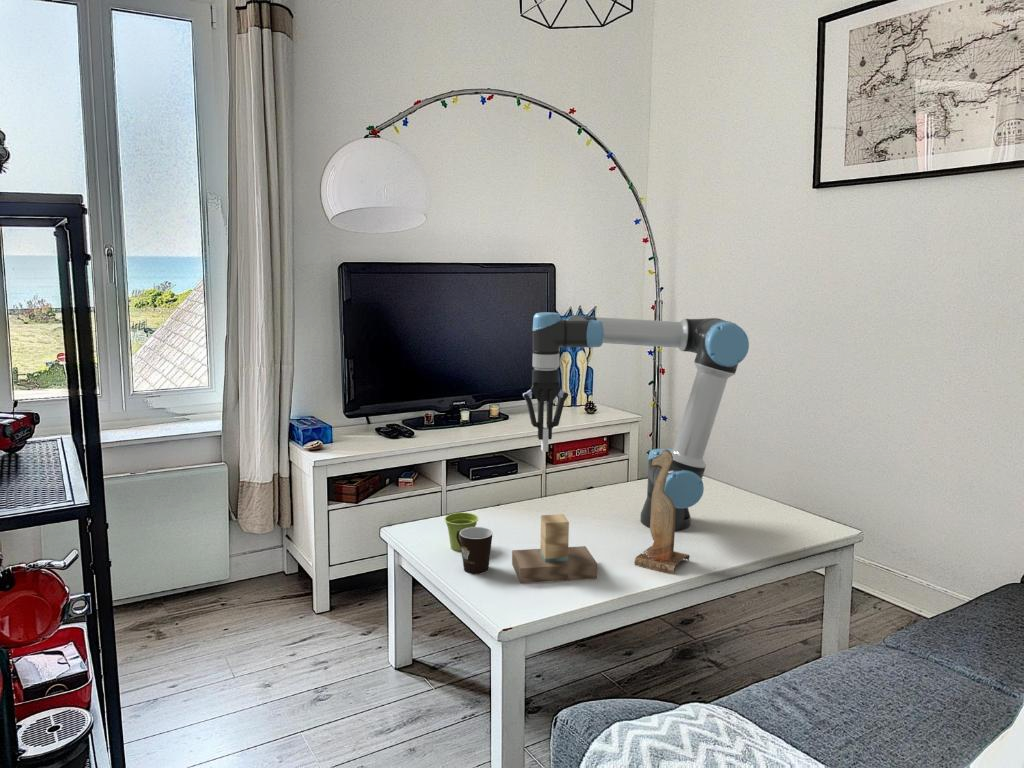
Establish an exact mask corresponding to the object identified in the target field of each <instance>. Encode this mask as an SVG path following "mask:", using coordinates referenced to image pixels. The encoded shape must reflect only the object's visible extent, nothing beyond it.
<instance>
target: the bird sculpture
mask: <svg viewBox="0 0 1024 768" xmlns="http://www.w3.org/2000/svg"><path fill="white" fill-rule="evenodd" d="M663 449H664V450H663V452H662V453H661V454H660V455H658V456H656V457H654V458H653V460H652V467H660V468H661V470H660V472H659V475H658V477H657V479H656V482H655V485H654V488H653V492H652V498H651V519H650V527H649V531H650V536H651V537H652V540H653V543H652V545H651V546H649V547H648V548H647V549H645V550H644V551H643V552H641V553H640V554H638V555H636V556H635V558H634V566H635V567H636V566H638V567H642V568H646V569H648V570H653V571H659V572H662V573H666V574H670V575H674V572H675V569H676V566H677V565H678V564H679V563H680V562H681V561H683V560H685V561H686V560H687V561H689V562H690V555H689V554H687V553H683V552H679V551H675V549H674V548H675V535H676V534H675V533H676V530H675V515H676V511H675V506H674V504H673V502H672V500H671V499H670V497H669V496H668V495H667V494H666V493H665V492H664V488H665V482H666V478H667V475H668V472H669V469H670V466H671V464H672V462H673V456H672V453H671V452H670V451H669V450H667V449H668V448H663Z"/></svg>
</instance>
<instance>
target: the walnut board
mask: <svg viewBox="0 0 1024 768" xmlns="http://www.w3.org/2000/svg"><path fill="white" fill-rule="evenodd" d="M540 550H541V548H532V549H530V548H529V549H514V550H513V549H512V551H511V565H512V568H513V570H514V572H515V575H516V577H517V579H518V582H519V584H531V583H549V582H550V583H551V582H561V581H562V582H564V581H577V580H579V581H580V580H581V581H582V580H593V579H594V580H596V579H598V564H599V563H598V562H597V561H596V559H595V558H594V556H593V555H592V553H591V552H590V551H589V549H588V548H587V547H586V545H583V546H582V545H581V546H568V561H556V562H545V561H544V559H543V557H542V555H541V554H540Z"/></svg>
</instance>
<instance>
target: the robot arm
mask: <svg viewBox="0 0 1024 768" xmlns="http://www.w3.org/2000/svg"><path fill="white" fill-rule="evenodd" d="M603 344H609V345H610V344H611V345H612V344H613V345H628V346H629V345H630V346H631V345H632V346H644V347H646V346H647V347H662V348H663V347H664V348H675V349H676V348H677V349H679V351H680V352H688V353H694V354H696V355H695V358H694V361H693V363H694V365H695V368H696V369H697V370H696V373H695V378H694V380H693V383H692V387H691V390H690V393H689V396H688V400H687V402H686V406H685V409H684V412H683V416H682V419H681V422H680V425H679V429H678V433H677V436H676V439H675V441H674V445H673V448H666V449H667V450H669V451H670V452H671V453H672V456H673V462H672V464H671V466H670V469H669V472H668V475H667V478H666V482H665V488H664V492H665V493H666V494H667V495H668V496H669V497H670V499H671V500H672V502H673V504H674V506H675V511H676V515H675V531H681V530H686V529H687V528H689V527H690V526H691V521H692V520H691V519H692V518H691V514H690V510H689V508H690V507H693V506H695V505H696V504H697V503H699V501H700V500H702V497H703V494H704V489H705V488H704V487H705V486H704V482H703V476H704V475H705V470H706V467H707V464H706V463H705V461H704V455H705V452H706V449H707V446H708V442H709V439H710V436H711V434H712V431H713V426H714V424H715V421H716V417H717V414H718V412H719V407H720V406H721V405H720V404H721V401H722V398H723V394H724V392H725V389H726V385H727V382H728V379H729V378H731V377H733V376H735V375H736V372H737V369H738V366H739V364H740V363H741V362H743V360H745V358H746V357H747V355H748V352H749V349H750V341H749V337H748V335H747V333H746V331H745V330H744V329H743V328H742V327H740V326H739V325H738V324H737V323H735V322H732V321H729V320H724V319H721V318H719V317H718V318H717V317H711V318H710V317H708V318H682V320H680V321H670V320H669V321H668V320H651V319H636V318H635V319H634V318H615V317H599V316H596V317H593V316H582V315H580V314H575V315H574V314H573V315H571V316H569V317H568V318H566V320H565V319H562V318H561V315H560V313H558V312H551V311H550V312H548V311H547V312H545V311H543V312H536V313H535V314H534V315H533V320H532V361H531V362H532V368H533V369H532V371H531V372H532V373H531V385H530V388H529V390H527V391H526V392H523V393H522V397H523V398H524V399H525V402H526V407H527V410H528V414H529V419H530V424H531V425H532V427H534V428H537V439H538V440H539V441H540V450H541V451H542V452H543V453H546V452H549V440H552V438H553V428H555V427H558V426H559V424H560V422H561V416H562V412H563V408H564V406H565V402H566V400H567V398H568V396H569V394H568V392H566V391H564V390H562V388H561V385H560V370H559V367H560V349H561V348H588V349H592V348H600V347H602V346H603ZM533 396H534V398H535V399H536V400H537V418H536V414H535V410H534V406H533V405H534V404H533V401H532V398H533ZM557 396H558V400H557V403H556V408H555V412H553V409H554V408H553V407H554V400H555V398H556V397H557ZM545 402H546V424H545V425H546V426H544V419H545V417H544V413H545V412H544V406H545ZM553 413H554V415H553ZM664 449H665V448H654V449H651V450H650V451H649V452H648V453H649V454H648V458H647V462H648V464H647V465H648V466H647V489H646V491H647V492H646V493H647V494H646V495H647V496H646V499H645V502H644V503H643V507H642V510H641V512H640V519H639V520H640V523H641V524H642V525H643V526H646V527H648V528H650V519H651V498H652V492H653V488H654V485H655V482H656V479H657V477H658V475H659V472H660V470H661V468H660V467H652V460H653V458H654V457H656V456H658V455H660V454H661V453H662V452H663V450H664Z"/></svg>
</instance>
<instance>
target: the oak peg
mask: <svg viewBox="0 0 1024 768" xmlns="http://www.w3.org/2000/svg"><path fill="white" fill-rule="evenodd" d="M569 531H570V522H569V520H568V518H567V517H566V515H565V514H564V513H562V514H561V513H560V514H542V515H540V549H541V550H540V554H541V555H542V557H543V559H544V561H545V562H556V561H568V547H569V539H570V538H569V537H570V535H569V533H570V532H569Z"/></svg>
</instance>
